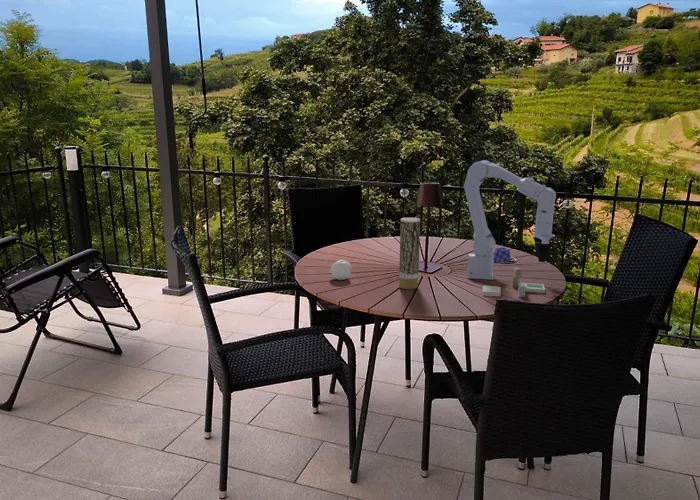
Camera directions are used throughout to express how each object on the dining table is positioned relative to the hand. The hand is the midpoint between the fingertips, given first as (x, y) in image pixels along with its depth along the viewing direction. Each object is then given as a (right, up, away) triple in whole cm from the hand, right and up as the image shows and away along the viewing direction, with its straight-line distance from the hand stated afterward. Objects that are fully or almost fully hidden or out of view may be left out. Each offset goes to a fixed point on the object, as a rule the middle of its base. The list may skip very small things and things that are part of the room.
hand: (540, 259), depth 200 cm
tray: (-4, -11, -5) cm, 12 cm away
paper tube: (-48, -10, -1) cm, 49 cm away
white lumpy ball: (-73, -8, +8) cm, 73 cm away
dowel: (-9, -10, -1) cm, 14 cm away
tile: (-20, -12, -8) cm, 25 cm away
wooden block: (-10, -12, -10) cm, 19 cm away
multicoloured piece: (-4, -1, +37) cm, 37 cm away
